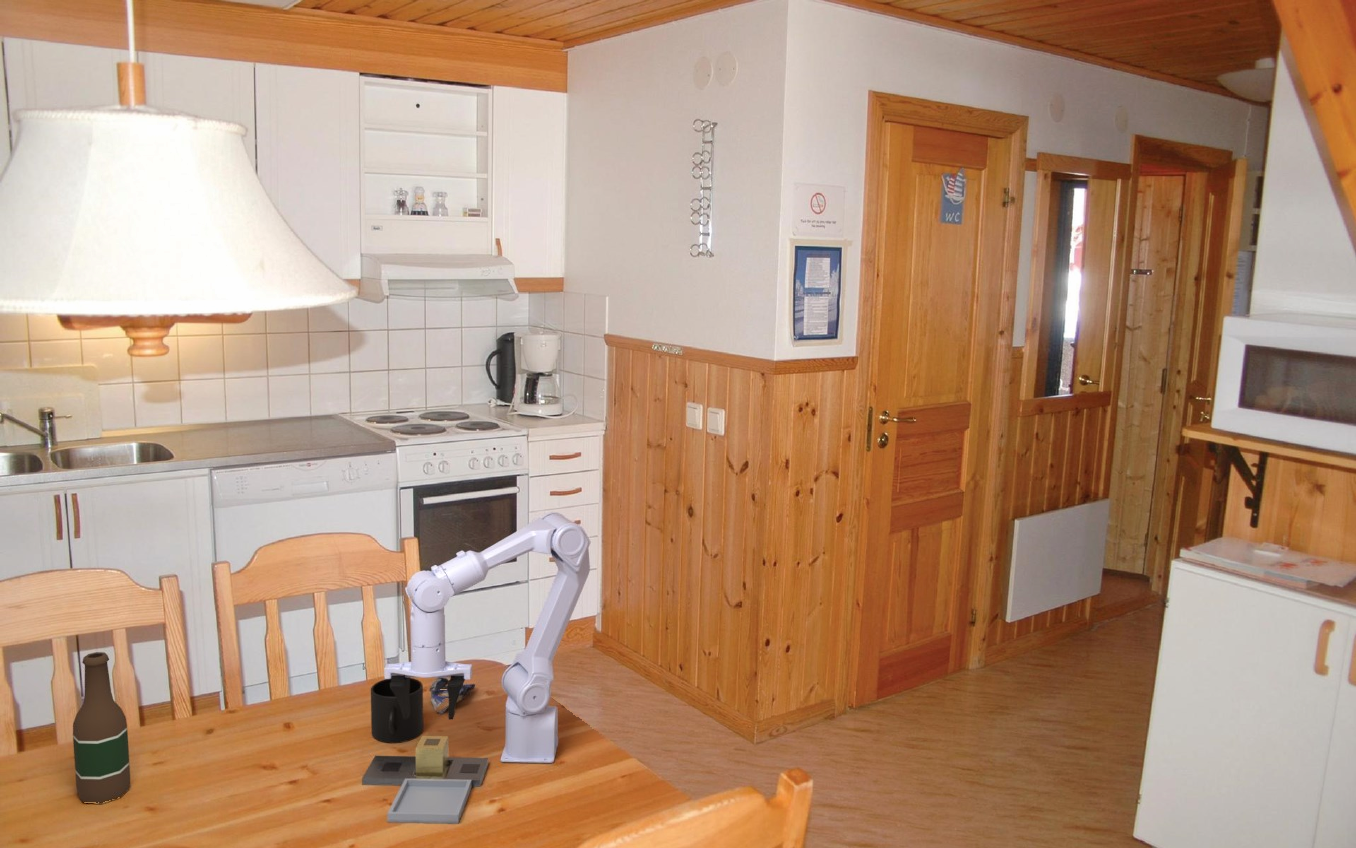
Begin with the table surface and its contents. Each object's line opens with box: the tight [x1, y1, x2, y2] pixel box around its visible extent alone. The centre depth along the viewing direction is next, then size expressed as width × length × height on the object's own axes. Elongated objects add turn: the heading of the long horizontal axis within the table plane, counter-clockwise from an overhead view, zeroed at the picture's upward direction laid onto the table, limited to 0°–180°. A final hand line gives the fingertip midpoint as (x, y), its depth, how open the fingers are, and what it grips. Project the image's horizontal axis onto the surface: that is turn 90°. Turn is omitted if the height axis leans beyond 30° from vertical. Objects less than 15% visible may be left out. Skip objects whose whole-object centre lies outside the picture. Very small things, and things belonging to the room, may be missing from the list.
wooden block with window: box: [415, 735, 450, 777], centre depth 177 cm, size 5×5×6 cm
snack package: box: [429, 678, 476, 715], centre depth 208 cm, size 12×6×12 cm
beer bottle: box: [72, 651, 131, 803], centre depth 167 cm, size 8×8×24 cm
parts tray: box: [386, 778, 473, 825], centre depth 168 cm, size 11×11×2 cm
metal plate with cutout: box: [361, 755, 489, 788], centre depth 178 cm, size 20×8×1 cm, turn 91°
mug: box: [370, 677, 424, 744], centre depth 191 cm, size 9×12×9 cm
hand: (429, 717), depth 177 cm, fingers open, 7 cm apart
